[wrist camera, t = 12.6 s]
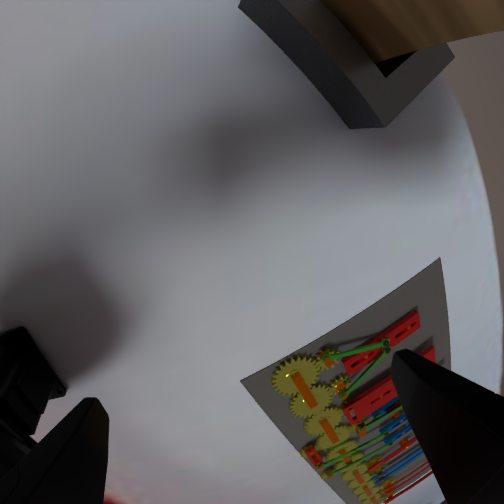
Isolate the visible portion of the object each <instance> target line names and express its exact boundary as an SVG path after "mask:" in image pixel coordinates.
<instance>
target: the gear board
mask: <svg viewBox="0 0 504 504" xmlns="http://www.w3.org/2000/svg"><path fill="white" fill-rule="evenodd" d="M404 348H407V349H409V350H411V351H413V352H415V353H417V354H419V355H421V356H423V357H425V358H427V359H429V360H431V361H433V362H435V363H437V364H439V365H441V366H443V367H445V368H447V369H449V370H451V352H450V335H449V322H448V311H447V301H446V293H445V285H444V278H443V271H442V265H441V259H440V258H438V259H437V260H436V261H434V262H433V263H432V264H430V265H429V266H428V267H426V268H425V269H423V270H422V271H421V272H419V273H418V274H417V275H415V276H414V277H412V278H411V279H410V280H408V281H407V282H405V283H404V284H402V285H401V286H400V287H398V288H397V289H395V290H394V291H392V292H391V293H389V294H388V295H386V296H385V297H383V298H382V299H380V300H379V301H377V302H376V303H374V304H373V305H371V306H370V307H368V308H367V309H365V310H364V311H362V312H360V313H359V314H357V315H356V316H354V317H353V318H351V319H349V320H348V321H346V322H344V323H343V324H341V325H340V326H338V327H336V328H335V329H333V330H331V331H330V332H328V333H326V334H325V335H323V336H321V337H320V338H318V339H316V340H315V341H313V342H311V343H309V344H308V345H306V346H304V347H302V348H301V349H299V350H297V351H295V352H293V353H292V354H290V355H288V356H286V357H284V358H283V359H281V360H279V361H277V362H275V363H273V364H271V365H270V366H268V367H266V368H264V369H262V370H260V371H258V372H256V373H254V374H252V375H250V376H248V377H246V378H244V379H242V380H240V382H241V383H242V384H243V386H244V387H245V388H246V389H247V391H248V392H249V393H250V394H251V396H252V397H253V398H254V399H255V401H256V402H257V403H258V404H259V406H260V407H261V408H262V409H263V411H264V412H265V413H266V414H267V416H268V417H269V418H270V419H271V420H272V422H273V423H274V424H275V425H276V426H277V428H278V429H279V430H280V431H281V432H282V434H283V435H284V436H285V437H286V438H287V439H288V441H289V442H290V443H291V444H292V445H293V446H294V448H295V449H296V450H297V451H298V452H299V453H300V455H301V457H303V458H304V459H305V460H306V461H307V462H308V463H309V464H310V466H311V467H312V468H313V469H314V470H315V471H316V472H317V473H318V474H319V475H320V477H321V479H323V480H324V481H325V482H326V483H327V484H328V485H329V486H330V487H331V488H332V489H333V490H334V491H335V492H336V493H337V495H338V496H339V497H340V498H341V499H342V500H343V501H344V502H345V503H346V504H381V503H382V502H383V501H384V500H385V499H386V500H385V501H384V502H383V503H385V504H387V503H389V502H390V501H392V500H394V499H395V498H396V497H398V496H399V495H401V494H403V493H404V492H406V491H407V490H409V489H411V488H412V487H414V486H415V485H417V484H418V483H420V482H421V481H422V480H424V479H425V478H427V477H428V476H430V475H431V474H432V473H433V471H431V472H429V473H428V474H427V475H425V476H424V477H422V478H421V479H419V480H418V481H416V482H415V483H413V484H412V485H410V486H409V487H407V488H406V489H404V490H403V491H401V492H399V493H398V494H396V495H394V494H395V493H396V492H398V491H400V490H401V489H403V488H404V487H406V486H407V485H409V484H411V483H412V482H414V481H415V480H417V479H418V478H420V477H421V476H422V475H424V474H425V473H427V472H428V471H430V470H431V467H430V465H429V463H428V461H427V459H426V457H425V455H424V452H423V450H422V448H421V446H420V444H419V442H418V440H417V438H416V436H415V434H414V432H413V430H412V428H411V426H410V424H409V422H408V420H407V418H406V416H405V413H404V411H403V408H402V406H401V403H400V400H399V397H398V395H397V392H396V390H395V387H394V384H393V382H392V379H391V376H390V369H391V363H392V357H393V354H394V352H395V351H398V350H401V349H404ZM393 495H394V496H393ZM392 496H393V497H392ZM387 498H388V499H387Z"/></svg>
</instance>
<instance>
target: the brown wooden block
mask: <svg viewBox="0 0 504 504" xmlns="http://www.w3.org/2000/svg"><path fill="white" fill-rule="evenodd" d="M320 1H321V2H322V3H323V4H324V5H325V6H326V7H327V8H328V9H329V10H330V11H331V12H332V13H333V15H334V16H335V17H336V18H337V19H338V20H339V21H340V22H341V23H342V25H343V26H344V27H345V28H346V29H347V30H348V31H349V33H350V34H351V35H352V36H353V37H354V38H355V40H356V41H357V42H358V43H359V44H360V46H361V47H362V48H363V49H364V51H365V52H366V53H367V54H368V56H369V57H370V58H371V60H372V61H373V62H374V63H378V62H381V61H384V60H387V59H390V58H393V57H396V56H400V55H403V54H406V53H409V52H413V51H416V50H420V49H423V48H427V47H431V46H434V45H438V44H442V43H446V42H450V41H455V40H459V39H463V38H468V37H473V36H477V35H482V34H488V33H493V32H499V31H504V0H320Z"/></svg>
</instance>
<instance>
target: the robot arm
mask: <svg viewBox="0 0 504 504" xmlns="http://www.w3.org/2000/svg"><path fill="white" fill-rule="evenodd" d="M20 332H21V333H22V334H23V335H22V334H21V333H20ZM390 376H391V379H392V382H393V384H394V387H395V390H396V392H397V395H398V397H399V400H400V403H401V406H402V408H403V411H404V413H405V416H406V418H407V420H408V422H409V424H410V426H411V428H412V430H413V432H414V434H415V436H416V438H417V440H418V442H419V444H420V446H421V448H422V450H423V452H424V455H425V457H426V459H427V461H428V463H429V465H430V467H431V469H432V471H433V473H434V475H435V478H436V480H437V482H438V484H439V486H440V488H441V491H442V493H443V495H444V497H445V499H446V502H447V504H504V397H503V396H501V395H499V394H495V393H494V392H492V391H490V390H488V389H486V388H484V387H482V386H480V385H478V384H476V383H474V382H472V381H470V380H468V379H466V378H464V377H462V376H460V375H458V374H457V373H455V372H453V371H451V370H449V369H447V368H445V367H443V366H441V365H439V364H437V363H435V362H433V361H431V360H429V359H427V358H425V357H423V356H421V355H419V354H417V353H415V352H413V351H411V350H409V349H407V348H404V349H401V350H398V351H395V352H394V354H393V357H392V363H391V369H390ZM60 390H61V391H60ZM66 392H67V390H66V388H65V386H64V385H63V384H62V382H61V381H60V380H59V378H58V377H57V375H56V374H55V373H54V371H53V370H52V368H51V367H50V365H49V364H48V363H47V361H46V360H45V358H44V357H43V355H42V353H41V352H40V350H39V349H38V347H37V346H36V344H35V343H34V341H33V339H32V338H31V336H30V334H29V333H28V331H27V330H26V329H25V328H24V327H22V326H20V327H17V328H14V329H11V330H9V331H6V332H3V333H1V334H0V504H103V501H104V491H105V482H106V473H107V465H108V441H109V416H108V414H107V412H106V411H105V409H104V407H103V406H102V404H101V403H100V401H99V400H98V399H97V398H95V397H86V398H84V399H83V400H82V401H81V402H80V403H79V404H78V405H77V406H75V407H74V408H73V409H72V410H71V411H70V412H69V413H68V414H67V415H66V416H65V417H64V418H63V419H62V420H61V421H60V422H59V423H58V424H57V425H56V426H55V427H54V428H53V429H52V430H51V431H50V432H49V433H48V434H47V435H46V436H45V437H44V438H43V439H42V440H41V441H40V442H39V443H37V442H36V441H35V440H34V439H32V438H31V437H30V435H34V434H35V431H36V428H37V425H38V422H39V420H40V417H41V414H43V413H44V411H45V408H46V406H47V403H48V400H50V399H55V398H59V397H64V396H65V394H66Z"/></svg>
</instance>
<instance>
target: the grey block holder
mask: <svg viewBox="0 0 504 504" xmlns="http://www.w3.org/2000/svg"><path fill="white" fill-rule="evenodd" d="M238 8H239V9H240V10H242V11H243V12H244V13H245V14H246V15H247V16H248V17H249V18H250V19H251V20H252V21H253V22H254V23H255V24H257V25H258V26H259V27H260V28H261V29H262V30H263V31H264V32H265V33H266V34H267V35H268V36H269V37H270V38H271V39H272V40H273V41H274V42H275V43H276V44H277V45H278V46H279V47H280V48H281V49H282V50H283V51H284V53H285V54H286V55H287V56H288V57H289V58H290V59H291V60H292V61H293V62H294V63H295V64H296V65H297V66H298V68H299V69H300V70H301V71H302V72H303V73H304V74H305V75H306V76H307V78H308V79H309V80H310V81H311V82H312V83H313V84H314V86H315V87H316V88H317V89H318V90H319V92H320V93H321V94H322V95H323V96H324V97H325V99H326V100H327V101H328V102H329V104H330V105H331V106H332V107H333V108H334V110H335V111H336V112H337V113H338V115H339V116H340V117H341V119H342V120H343V121H344V122H345V124H346V125H347V126H348V128H349V129H360V128H384V127H386V126H387V125H388V124H389V123H390V122H391V121H392V120H393V119H394V118H395V117H396V116H397V115H398V114H399V113H400V112H401V111H402V110H403V109H404V108H405V107H406V106H407V105H408V104H409V103H410V102H411V101H412V100H413V99H414V98H415V97H416V96H417V95H418V94H419V93H420V92H421V91H422V90H423V89H424V88H425V87H426V86H427V85H428V84H429V83H430V82H431V81H432V80H433V79H434V78H435V77H436V76H437V75H438V74H439V73H440V72H441V71H442V70H443V69H444V68H445V67H446V66H447V65H448V64H449V63H450V62H451V61H452V60H453V59H454V57H455V56H454V55H453V53H452V52H451V50H450V48H449V47H448V45H447V44H446V43H442V44H438V45H434V46H431V47H427V48H423V49H420V50H416V51H413V52H409V53H406V54H403V55H400V56H396V57H393V58H390V59H387V60H384V61H381V62H380V63H379V64H378V65H377V66H376V65H375V63H374V62H373V61H372V60H371V58H370V57H369V56H368V54H367V53H366V52H365V51H364V49H363V48H362V47H361V46H360V44H359V43H358V42H357V41H356V40H355V38H354V37H353V36H352V35H351V34H350V33H349V31H348V30H347V29H346V28H345V27H344V26H343V25H342V23H341V22H340V21H339V20H338V19H337V18H336V17H335V16H334V15H333V13H332V12H331V11H330V10H329V9H328V8H327V7H326V6H325V5H324V4H323V3H322V2H321V1H320V0H241V1H240V3H239V5H238Z"/></svg>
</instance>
